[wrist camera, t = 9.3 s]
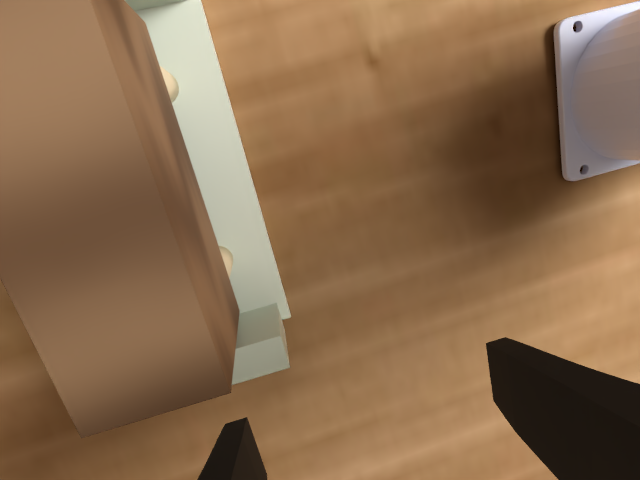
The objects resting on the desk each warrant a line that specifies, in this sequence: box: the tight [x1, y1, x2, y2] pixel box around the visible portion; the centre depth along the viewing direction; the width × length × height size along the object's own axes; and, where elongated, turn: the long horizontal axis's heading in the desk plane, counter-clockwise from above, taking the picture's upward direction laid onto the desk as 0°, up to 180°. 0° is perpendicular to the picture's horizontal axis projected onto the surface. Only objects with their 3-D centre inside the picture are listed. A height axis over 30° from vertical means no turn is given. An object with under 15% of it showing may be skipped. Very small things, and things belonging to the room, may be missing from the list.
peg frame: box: [124, 0, 291, 385], centre depth 16 cm, size 17×8×4 cm, turn 13°
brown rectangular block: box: [0, 0, 240, 438], centre depth 13 cm, size 12×4×6 cm, turn 13°
